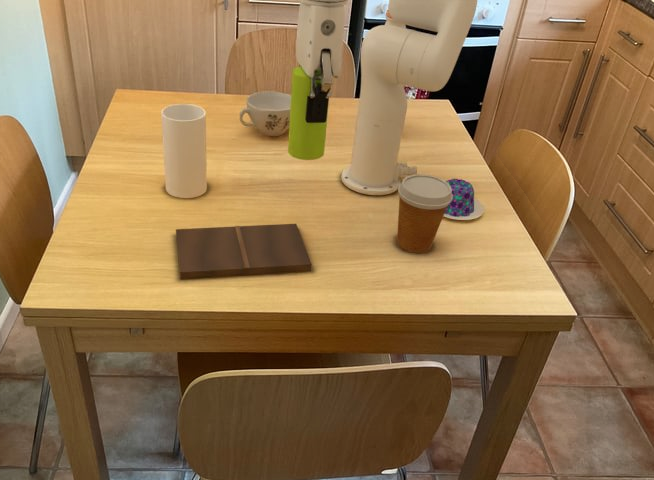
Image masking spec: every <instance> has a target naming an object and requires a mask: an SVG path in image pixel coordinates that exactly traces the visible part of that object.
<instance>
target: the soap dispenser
mask: <svg viewBox="0 0 654 480" xmlns="http://www.w3.org/2000/svg"><path fill="white" fill-rule="evenodd" d="M291 72H292V73H291V91H290V95H291V106H290V125H289V129H288V142H287V143H288V144H287V153H288V155H289V156H290V157H292V158H295V159H297V160H303V161H304V160H305V161H315V160H318V159H320V158H322V157H324V155H325V148H326V138H327V137H326V136H327V126H328V118H327V119H326V122H325V123H307V122H306V120H305V117H306V106H307V96H310V77H309V76H308V75H307V74H306V73H305V72H304V70H303V69H302V66H299V65H298V66H296V67H294V68H293V69H292V71H291ZM314 73H315V75H321V71H314ZM320 81H321V80H315V88H316V86H317V84H318V83H320ZM329 103H330V100H329V101H328V106H329ZM328 114H329V109H328V110H327V117H329V115H328Z"/></svg>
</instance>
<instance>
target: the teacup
mask: <svg viewBox="0 0 654 480" xmlns="http://www.w3.org/2000/svg"><path fill="white" fill-rule="evenodd" d="M290 106H291V94H289V93H285V92H280V91H272V90H265V91H258V92H254V93H252V94H250V95H248V96H247V97H246V107H245V108H241V110H240V112H239V118H238V119H239V122H240V123H241V125H242V126H244V127H250V128H255V129H257V130H258V131H259V132H260V134H262V135H264V136H267V137H280V136H283V135H284V134H285V132H286V131H289V125H290ZM245 114H247V115H248V117H249V119H250V121H251V123H248V122H246V121H245V120H243V117H244V115H245Z"/></svg>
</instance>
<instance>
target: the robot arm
mask: <svg viewBox="0 0 654 480" xmlns="http://www.w3.org/2000/svg"><path fill="white" fill-rule="evenodd" d="M296 1H297V2H299V7H298V16H297V26H296V37H295V59H296V61H297V63H298V66H302V69H303V70H304V72H305V73H306V74H307V75H308V76H309V77H310V96H307V106H306V117H305V120H306V122H307V123H325V122H326V119H327V120H328V116H327V110H328V111H329V105H328V101H329V102H330V95H331V94H330V93H331V88H332V86H333V81H334V80H333V78H334V79H339V77H340V76H341V75H342V63H343V51H344V40H345V5H348V4H349V0H296ZM477 5H478V0H388V5H387V10H389V14H390V16H391V17H392V18H393V19H394V20H395V21H397V22H399V23H402V24H405V25H406V26H409V27H413V28H417V29H423V30H427V31H430V32H434V33H437V34H431V33H426V32H421V31H418V30H416V29H411V28H410V29H409V28H407V27H406V28H402V27H397V26H391V25H385V24H380V25H377V26H374V27H372V28H371V29H369V30H368V31H367V33H366V34H365V36H364V37H363V40H362V42H361V46H360V75H361V76H360V91H359V92H360V93H359V101H358V107H357V115H356V116H357V117H356V123H355V128H354V136H353V142H352V151H351V157H350V165H349V166H347V167H345V168H344V169H343V170H342V171H341V177H340V179H341V182H342V183H343V185H344V186H346V187H347V188H348V189H350V190H352V191H354V192H356V193H359V194H363V195H368V196H385V195H390V194H392V193H395V192H397V191H398V187H399V185H400V184H401V183H402V180H401V178H403V176H410V175H416V174H418V167H417V166H414V165H413V166H411V165H410V166H409V165H408V162H407V161H406V162H398V159H399V155H400V148H401V143H402V137H403V134H404V133H403V131H404V128H405V122H406V117H407V111H408V99H407V98H408V97H407V94H406V89H405V90H404V88H403V85H406V86H405V87H410V88H414V89H415V88H416V89H418V90H421V91H422V90H423V91H426V92H438V91H440V90H442V89H443V88H444V87H445V86H446V85H447V84H448V82H449V79H450V78H451V75H452V73H453V71H454V68H455V66H456V64H457V61H458V59H459V56H460V54H461V51H462V48H463V47H464V44H465V41H466V38H467V36H468V34H469V31H470V28H471V27H472V24H473V20H474V17H475V15H476V11H477ZM314 71H321V75H315V73H314ZM315 80H321V81H320V83H318V84H317V86H316V88H315ZM402 84H403V85H402Z"/></svg>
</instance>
